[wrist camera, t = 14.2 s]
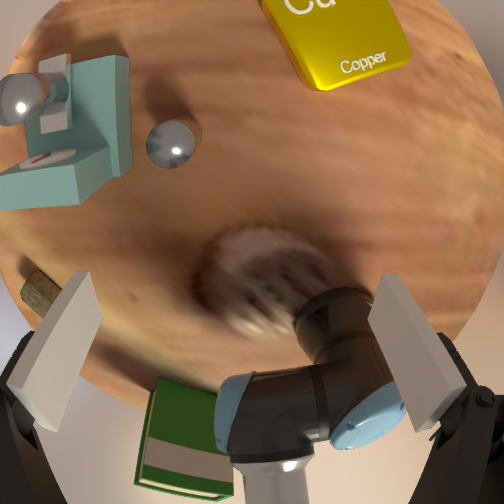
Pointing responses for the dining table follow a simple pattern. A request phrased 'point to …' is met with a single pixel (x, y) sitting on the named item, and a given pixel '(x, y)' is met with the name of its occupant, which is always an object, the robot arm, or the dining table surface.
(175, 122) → the cylinder
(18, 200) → the scale body
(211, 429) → the hardback book
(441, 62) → the dining table surface
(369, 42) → the element tile
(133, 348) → the dining table surface
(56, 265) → the dining table surface
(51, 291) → the stone block
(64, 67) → the platform
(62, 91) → the cylinder
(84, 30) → the dining table surface
